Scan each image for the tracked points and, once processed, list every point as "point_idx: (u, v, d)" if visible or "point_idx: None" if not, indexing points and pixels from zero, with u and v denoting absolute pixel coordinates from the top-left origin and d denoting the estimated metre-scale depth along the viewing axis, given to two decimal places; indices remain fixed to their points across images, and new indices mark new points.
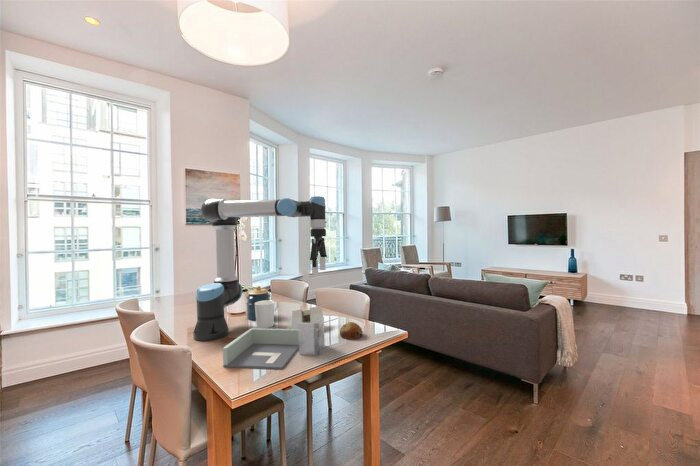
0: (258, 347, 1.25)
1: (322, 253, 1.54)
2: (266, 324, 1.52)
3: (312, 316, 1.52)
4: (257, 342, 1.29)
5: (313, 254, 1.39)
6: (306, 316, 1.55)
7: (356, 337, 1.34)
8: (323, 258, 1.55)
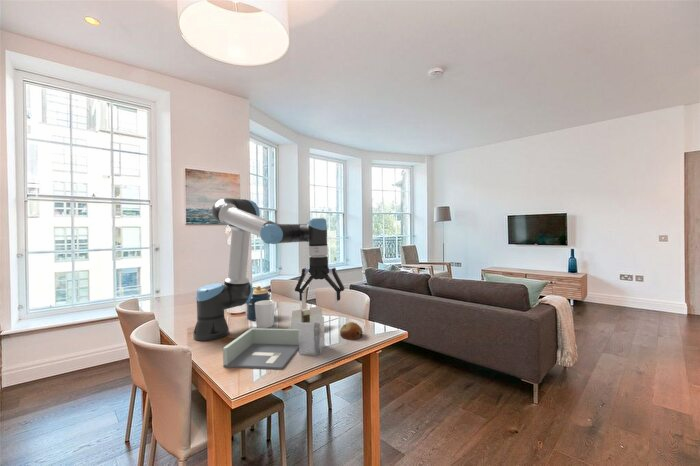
0: (258, 347, 1.25)
1: None
2: (266, 324, 1.52)
3: (312, 316, 1.52)
4: (257, 342, 1.29)
5: None
6: (306, 316, 1.55)
7: (356, 337, 1.34)
8: None
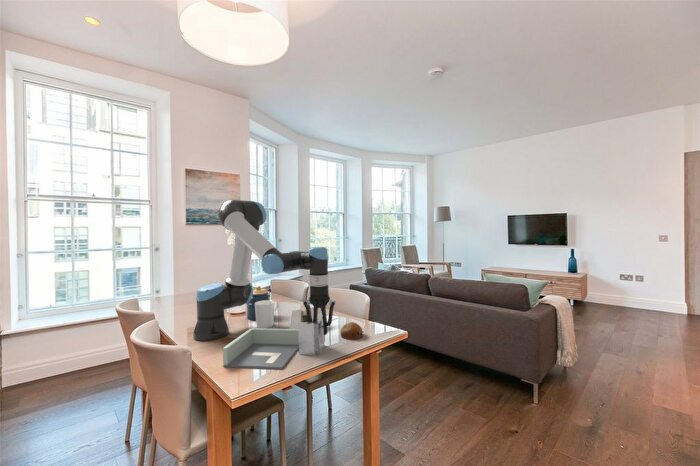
0: (258, 347, 1.25)
1: None
2: (266, 324, 1.52)
3: None
4: (257, 342, 1.29)
5: None
6: (305, 316, 1.55)
7: (357, 337, 1.34)
8: None
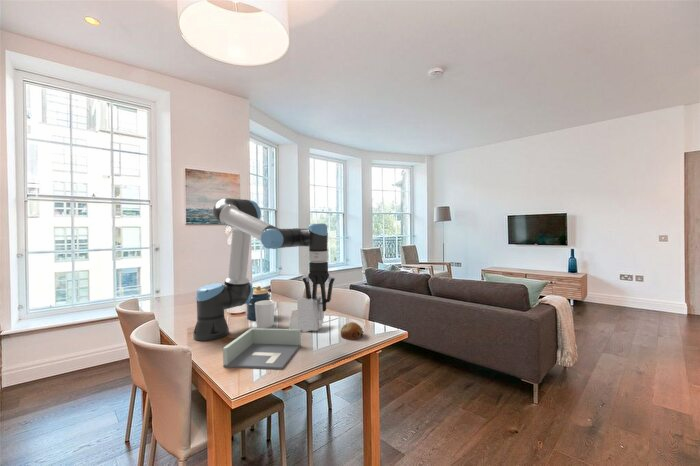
0: (258, 347, 1.25)
1: None
2: (266, 324, 1.52)
3: None
4: (257, 342, 1.29)
5: None
6: None
7: (357, 337, 1.34)
8: None
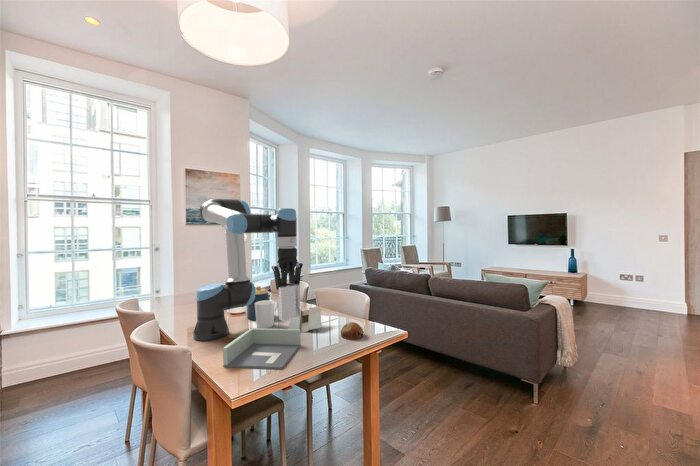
0: (258, 347, 1.25)
1: (291, 282, 1.22)
2: (266, 324, 1.52)
3: (310, 316, 1.51)
4: (257, 342, 1.29)
5: (277, 285, 1.17)
6: (305, 316, 1.55)
7: (357, 337, 1.34)
8: None
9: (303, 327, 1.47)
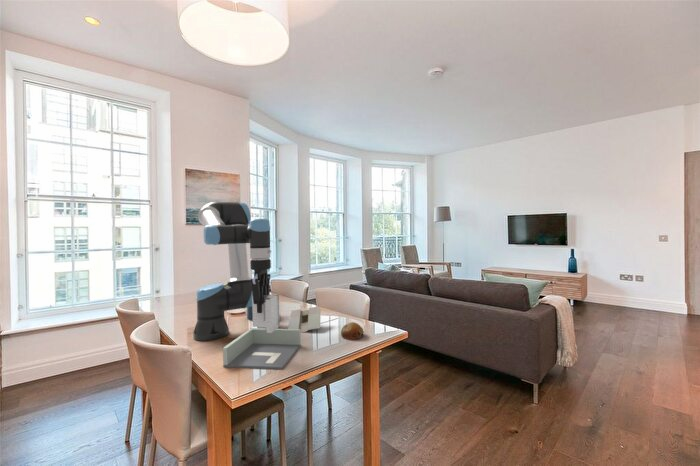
0: (258, 347, 1.25)
1: (263, 294, 1.19)
2: None
3: (310, 316, 1.51)
4: (257, 342, 1.29)
5: (256, 299, 1.13)
6: (305, 316, 1.55)
7: (357, 337, 1.34)
8: None
9: (302, 327, 1.47)
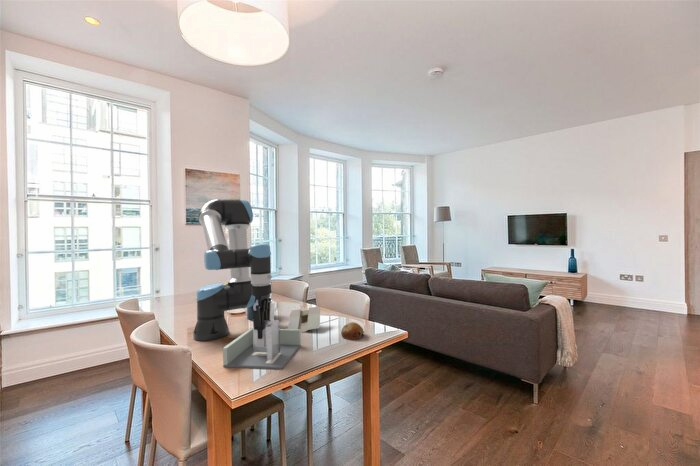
0: None
1: (264, 319, 1.19)
2: None
3: (309, 316, 1.51)
4: None
5: (257, 325, 1.13)
6: (304, 316, 1.55)
7: (358, 337, 1.34)
8: None
9: (301, 327, 1.47)
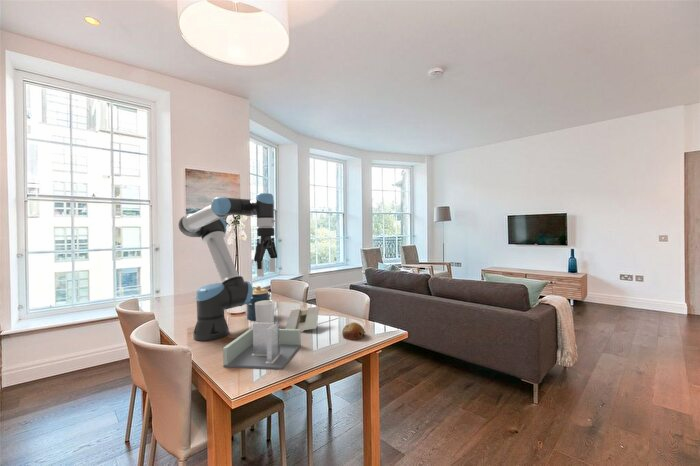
0: None
1: (272, 254, 1.45)
2: None
3: (308, 316, 1.51)
4: None
5: (257, 255, 1.30)
6: (303, 316, 1.55)
7: (359, 338, 1.33)
8: (273, 259, 1.45)
9: (299, 327, 1.47)
